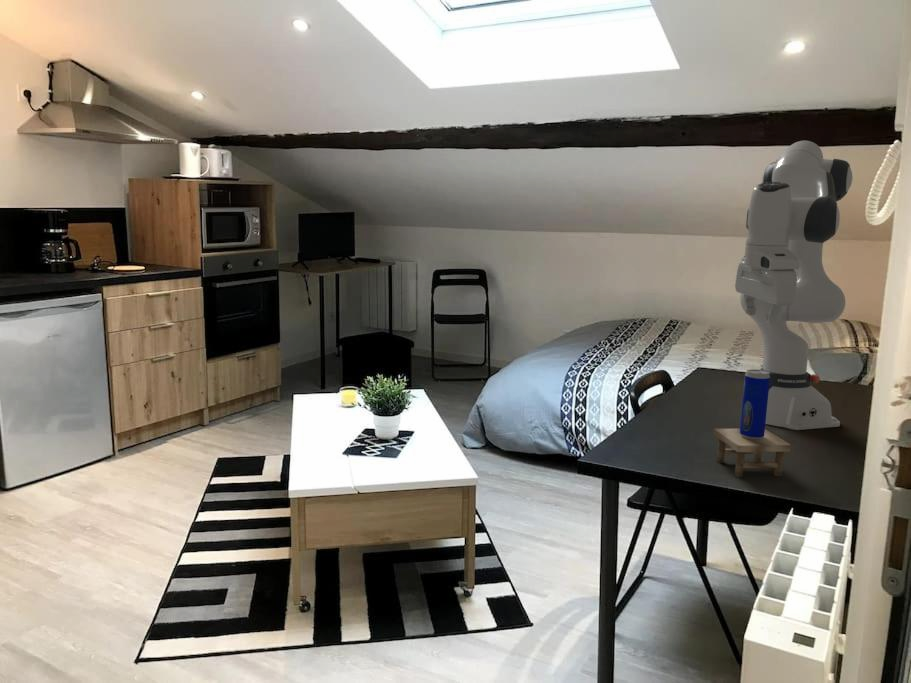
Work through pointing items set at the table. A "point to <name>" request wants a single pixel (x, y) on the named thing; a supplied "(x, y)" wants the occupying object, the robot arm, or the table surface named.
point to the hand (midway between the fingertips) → (760, 318)
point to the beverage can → (754, 404)
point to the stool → (751, 449)
